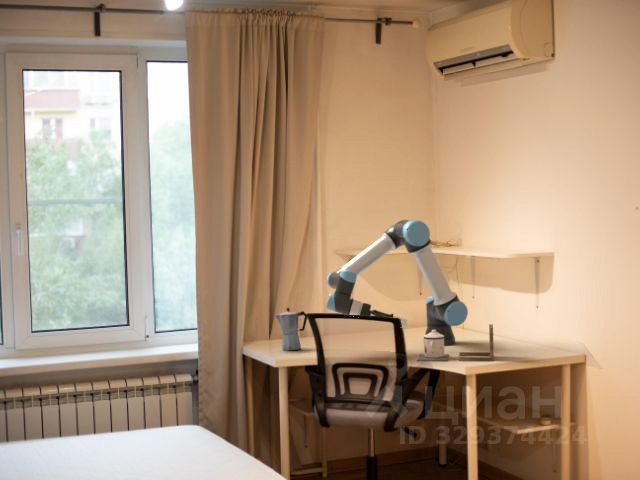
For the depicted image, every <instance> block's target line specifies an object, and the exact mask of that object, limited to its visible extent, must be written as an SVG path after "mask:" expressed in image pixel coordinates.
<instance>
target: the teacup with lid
mask: <svg viewBox="0 0 640 480" xmlns="http://www.w3.org/2000/svg"><path fill="white" fill-rule="evenodd" d="M444 338H445V337H444V335H442V334H440V333H438V332H436V330H432V332H430V333H429V334H427V335H425V334H424V335H423V344H424V345H423V347H424V354H425V357H428V358H440V357H444V354H445V345H444Z"/></svg>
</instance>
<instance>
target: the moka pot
mask: <svg viewBox="0 0 640 480" xmlns="http://www.w3.org/2000/svg"><path fill="white" fill-rule="evenodd" d="M301 316H304V318H303V325H302V328H300V329H299V317H301ZM274 317H275V318H276V319H277V321H278V323H279V325H280V329H281V331H282V335H281V336H282V343H281V344H282V345H281V346H282V347H281V349H282V350H283V351H287V352H288V351H296V350H300V349H301V348H302V346H301V342H300V336H299V333H298V332H303V331H305V327H306V325H307V320H308V314H306V313H305V311H304V310H302V311H296V312H294V311H290V307H286V311H284V312H281V313H277V314H276V315H275V316H274Z"/></svg>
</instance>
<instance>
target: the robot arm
mask: <svg viewBox="0 0 640 480" xmlns="http://www.w3.org/2000/svg"><path fill="white" fill-rule="evenodd" d="M430 236H431V232H430V229H429V226H428V225H427V224H426V223H425V222H424V221H422V220H419V219H403V220H399V221H397V222H396V223H394V224H393V225H391V227H389V228H388V229H386V230H385V231H383V233H382V234H381V237H380V238H379V239H377V240H376V241H374V242H373V243H372V244H371V245H369V246H368V247H367V248H365V249H364V250H362V251H361V252H360V253H358V254H357V255H356V256H355V257H353V258H352V259H351V260H349V261H348V262H347V263H345V264H344V265H343V266H342V267H340V268H339V269H337V270H336V271H333V272H330V273H329V274H328V275H327V277H326V283H327V285H328V287H330V288H332V289H334V292H331V293H329V295H328V298H327V301H326V304H325V305H326V309H328V310H330V311H333V312H335V313H338V314H342V315H346V316H349V315H360V316H368V317H370V316H377V317H392V318H399V319H401V323H402V327H401V328H402V329H406V328H407V326H408V319H405V318H402V317H399V316H395V314H394V313H391V314H389V313H386V312H382V311H379V310H377V309H371V308H372V304H371V303H366V302H363V301H359V300H357V299H352V298H351V297H352V295H353V291H354V287H355V285H356V282H357V277H358V276H359V275H360V274H361V273H362V272H364V271H365V270H367V269H368V268H369V267H371V266H372V265H373V264H374V263H376V262H377V261H379V260H380V259H381V258H383V257H384V256H385V255H387V254H388V253H389V252H391V251H395V250H396V249H398V248H400V247H402V246H404V247H405V248H406V251H407V252H408V254H410V255H412V256H413V258H414V259H415V262H416V263H417V266H418V268H419V269H420V272H421V274H422V275H423V278H424V280H425V281H426V285H427V286H428V289H429V290H430V293H431V294H432V296H427V298H426V301H425V302H426V303H425V306H426V330H425V334H424V335H427V334H429V333H430V332H432V330H436V332H438V333H440V334H442V335H444V337H445V338H444V346H449V345H450V346H451V345H455V344H456V337H455V334H454V331H453V328H452V327H458V326H461V325H462V324H463V323H464V322H465V321H467V317H468V314H469V310H468V307H467V305H466V304H465V303H464V302H463V301H461V300H460V298H459V297H458V295H457V292H454V291H452V289H451V288H450V285H449V283H448V281H447V279H446V277H445V275H444V272H443V271H442V268H441V267H440V264H439V263H438V260H437V258H436V257H435V255H434V252H433V250H432V248H431V245H432V241H431V239H430Z"/></svg>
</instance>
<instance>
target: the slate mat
mask: <svg viewBox="0 0 640 480" xmlns="http://www.w3.org/2000/svg"><path fill="white" fill-rule="evenodd" d="M448 360H449V353H448V354H447V353H444V357H440V358H428V357H425V353H420V354H418V356H417V359H416V361H417V362H448Z"/></svg>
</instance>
